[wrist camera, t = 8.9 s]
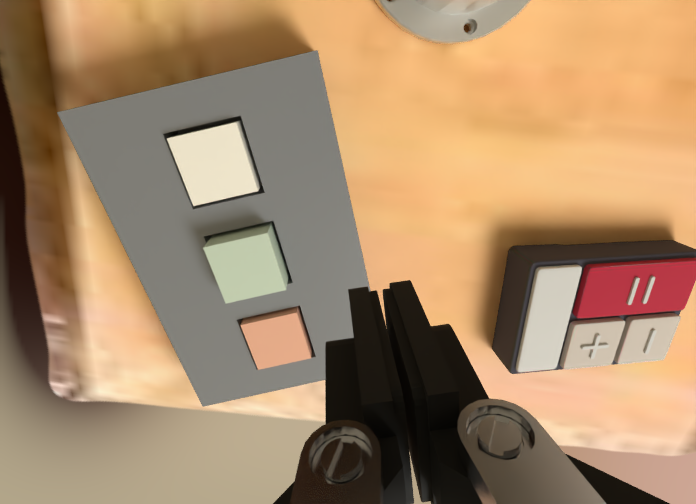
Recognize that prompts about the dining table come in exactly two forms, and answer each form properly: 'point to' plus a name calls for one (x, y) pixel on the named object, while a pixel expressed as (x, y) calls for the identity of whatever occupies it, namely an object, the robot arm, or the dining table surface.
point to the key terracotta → (277, 337)
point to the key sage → (247, 262)
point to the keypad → (230, 214)
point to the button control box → (591, 304)
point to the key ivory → (216, 162)
